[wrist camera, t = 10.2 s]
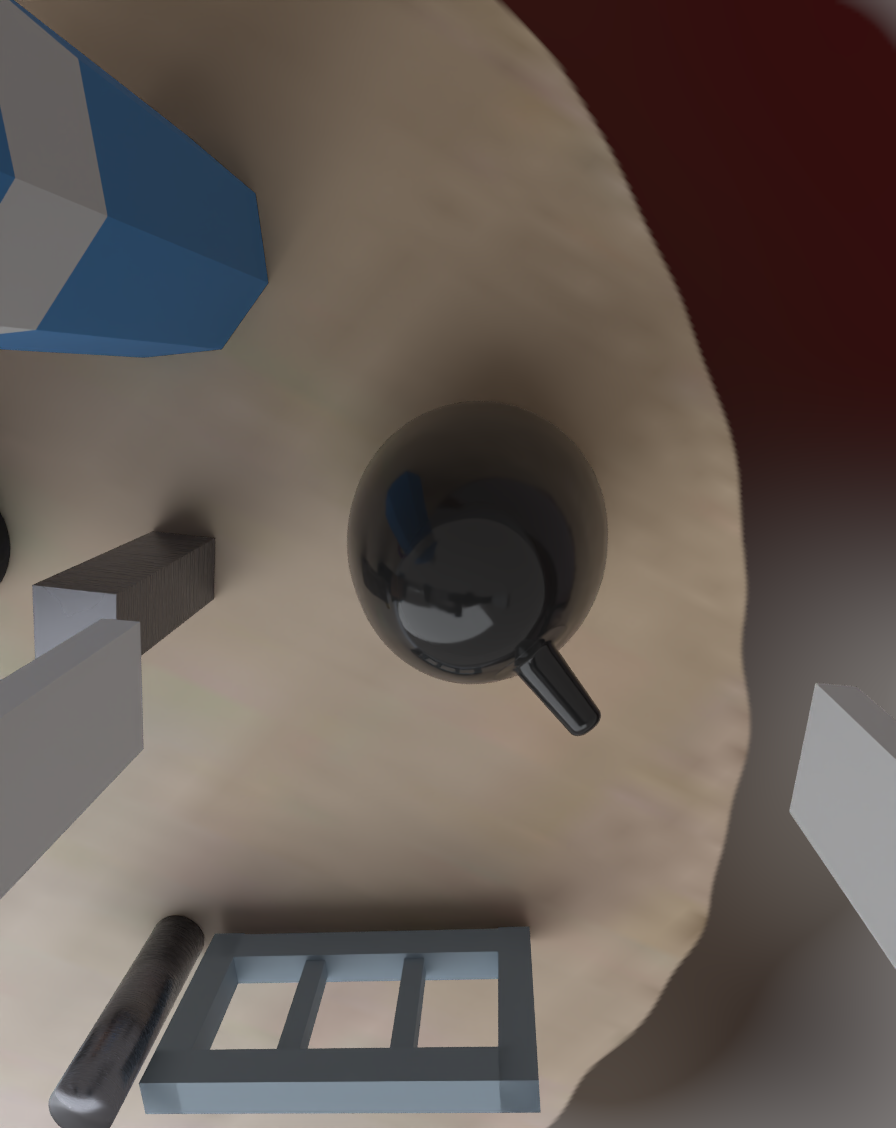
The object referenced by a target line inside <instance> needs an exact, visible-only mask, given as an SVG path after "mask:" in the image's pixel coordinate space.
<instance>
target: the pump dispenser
mask: <svg viewBox="0 0 896 1128" xmlns="http://www.w3.org/2000/svg"><path fill="white" fill-rule="evenodd" d="M607 548H608V522H607V513H606V507H605V502H604V498H603V494H602V491H601V488H600V485H599V482H598V480H597V478H596V475H595V473H594V471H593V469H592V467H591V466H590V464H589V462H588V461H587V459H586V458H585V456H584V455H583V453H582V452H581V451H580V449H579V448H578V447H577V446H576V445H575V443H574V442H573V441H572V440H571V439H570V438H569V437H568V436H567V435H566V434H565V433H564V432H562V431H561V430H560V429H559V428H558V427H556V426H555V425H553V424H552V423H551V422H549V421H548V420H546V419H544V418H543V417H541V416H539V415H537V414H535V413H533V412H531V411H528V410H526V409H523V408H520V407H517V406H514V405H510V404H506V403H500V402H493V401H466V402H459V403H454V404H449V405H445V406H442V407H439V408H436V409H433V410H431V411H428V412H426V413H424V414H422V415H420V416H418V417H416V418H415V419H413V420H411V421H410V422H408V423H407V424H405V425H404V426H403V427H401V428H400V429H399V430H397V431H396V432H395V433H394V434H393V435H392V436H391V437H390V438H389V439H388V440H387V441H386V442H385V443H384V444H383V445H382V446H381V447H380V448H379V450H378V451H377V452H376V453H375V455H374V456H373V458H372V459H371V461H370V462H369V464H368V465H367V467H366V469H365V471H364V473H363V475H362V477H361V479H360V481H359V484H358V486H357V489H356V492H355V495H354V498H353V502H352V506H351V510H350V515H349V521H348V530H347V554H348V563H349V569H350V574H351V578H352V582H353V585H354V588H355V591H356V594H357V597H358V600H359V602H360V604H361V607H362V609H363V611H364V613H365V615H366V617H367V619H368V621H369V623H370V624H371V626H372V628H373V629H374V631H375V632H376V633H377V635H378V636H379V637H380V639H381V640H382V641H383V642H384V644H385V645H386V646H387V647H388V648H389V649H390V650H391V651H392V652H393V653H394V654H395V655H397V656H398V657H399V658H400V659H401V660H403V661H404V662H405V663H407V664H408V665H410V666H411V667H413V668H415V669H417V670H418V671H420V672H422V673H424V674H427V675H429V676H431V677H434V678H437V679H440V680H443V681H448V682H452V683H459V684H485V683H492V682H497V681H501V680H505V679H508V678H511V677H514V676H517V675H518V676H519V677H520V678H521V679H522V680H523V681H524V682H525V684H526V685H527V686H528V687H529V688H530V689H531V690H532V691H533V692H534V693H535V695H536V696H537V697H538V698H539V699H540V700H541V701H542V702H543V703H544V704H545V706H546V707H547V708H548V709H549V710H550V711H551V712H552V713H553V714H554V716H555V717H556V718H557V719H558V720H559V721H560V722H561V723H562V724H563V726H564V727H565V728H566V729H567V730H568V731H569V732H570V733H571V734H572V735H574V736H582V735H584V734H586V733H588V732H589V731H591V730H592V729H593V728H594V727H595V726H596V725H597V724H598V723H599V721H600V718H601V713H600V710H599V709H598V707H597V706H596V705H595V703H594V702H593V700H592V699H591V697H590V696H589V694H588V693H587V692H586V690H585V689H584V687H583V686H582V684H581V683H580V681H579V680H578V679H577V677H576V676H575V674H574V673H573V671H572V670H571V668H570V667H569V666H568V664H567V663H566V661H565V660H564V658H563V657H562V655H561V654H560V652H559V651H558V650H560V649H561V648H562V647H563V646H564V645H565V644H566V643H567V642H568V641H569V640H570V638H571V637H572V636H573V635H574V634H575V632H576V631H577V630H578V629H579V627H580V626H581V624H582V623H583V621H584V620H585V618H586V616H587V615H588V613H589V611H590V609H591V607H592V605H593V603H594V601H595V599H596V596H597V594H598V591H599V588H600V585H601V582H602V579H603V575H604V570H605V565H606V558H607Z"/></svg>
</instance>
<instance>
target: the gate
mask: <svg viewBox="0 0 896 1128" xmlns="http://www.w3.org/2000/svg"><path fill="white" fill-rule="evenodd" d="M461 979H498V1047H424V1048H417V1045H418V1037H419V1029H420V1020H421V1012H422V1003H423V995H424V987H425V980H461ZM346 981H401V982H400V988H399V995H398V1001H397V1007H396V1013H395V1020H394V1026H393V1032H392V1038H391V1045H390V1048H328V1049H307V1048H308V1045H309V1041H310V1038H311V1034H312V1030H313V1027H314V1023H315V1020H316V1016H317V1013H318V1009H319V1006H320V1002H321V999H322V995H323V992H324V988H325V984H326V982H346ZM289 982H299V983H298V986H297V989H296V992H295V995H294V998H293V1001H292V1004H291V1007H290V1010H289V1013H288V1016H287V1020H286V1023H285V1026H284V1029H283V1032H282V1035H281V1038H280V1041H279V1044H278V1047H277V1049H231V1050H210V1048H211V1045H212V1043H213V1041H214V1038H215V1036H216V1034H217V1031H218V1029H219V1027H220V1024H221V1022H222V1020H223V1017H224V1015H225V1013H226V1010H227V1008H228V1006H229V1003H230V1001H231V999H232V996H233V994H234V992H235V989H236V987H237V985H238V983H289ZM139 1085H140V1090H141V1094H142V1099H143V1104H144V1108H145V1113H146V1114H245V1113H528V1112H540V1096H539V1079H538V1062H537V1045H536V1029H535V1012H534V995H533V978H532V961H531V944H530V928H529V927H498V929H459V930H415V931H371V932H327V933H283V934H244V933H224V934H215V935H214V936H213V938H212V940H211V942H210V944H209V946H208V948H207V950H206V952H205V954H204V956H203V958H202V960H201V962H200V964H199V966H198V968H197V970H196V972H195V974H194V976H193V978H192V980H191V982H190V984H189V986H188V988H187V990H186V992H185V994H184V996H183V998H182V1000H181V1002H180V1004H179V1006H178V1007H177V1009H176V1011H175V1013H174V1015H173V1017H172V1019H171V1021H170V1023H169V1025H168V1027H167V1029H166V1031H165V1033H164V1035H163V1037H162V1039H161V1041H160V1043H159V1045H158V1047H157V1049H156V1051H155V1053H154V1055H153V1057H152V1059H151V1061H150V1063H149V1065H148V1067H147V1069H146V1071H145V1073H144V1075H143V1076H142V1078H141V1080H140V1082H139Z"/></svg>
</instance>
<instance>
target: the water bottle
mask: <svg viewBox="0 0 896 1128" xmlns="http://www.w3.org/2000/svg"><path fill="white" fill-rule="evenodd" d="M267 284H268V277H267V270H266V263H265V256H264V249H263V242H262V235H261V228H260V221H259V215H258V208H257V201H256V194H255V193H254V192H253V191H252V190H251V189H249V188H248V187H247V186H246V185H245V184H244V183H242V182H241V181H240V180H239V179H238V178H236V177H235V176H234V175H233V174H232V173H231V172H229V171H228V170H227V169H226V168H225V167H224V166H222V165H221V164H220V163H219V162H218V161H216V160H215V159H214V158H213V157H212V156H211V155H209V154H208V153H207V152H206V151H205V150H204V149H202V148H201V147H200V146H199V145H198V144H196V143H195V142H194V141H193V140H192V139H191V138H189V137H188V136H187V135H186V134H184V133H183V132H182V131H181V130H179V129H178V128H177V127H176V126H174V125H173V124H172V123H170V122H169V121H168V120H167V119H165V118H164V117H163V116H161V115H160V114H159V113H158V112H156V111H155V110H154V109H152V108H151V107H150V106H149V105H147V104H146V103H145V102H144V101H142V100H141V99H140V98H138V97H137V96H136V95H135V94H133V93H132V92H131V91H129V90H128V89H127V88H126V87H124V86H123V85H122V84H120V83H119V82H118V81H117V80H115V79H114V78H113V77H111V76H110V75H109V74H108V73H106V72H105V71H104V70H103V69H101V68H100V67H99V66H97V65H96V64H95V63H94V62H92V61H91V60H90V59H88V58H87V57H86V56H85V55H83V54H82V53H81V52H79V51H78V50H77V49H76V48H74V47H73V46H72V45H71V44H69V43H68V42H67V41H65V40H64V39H63V38H62V37H60V36H59V35H58V34H56V33H55V32H54V31H53V30H51V29H50V28H49V27H47V26H46V25H45V24H44V23H42V22H41V21H40V20H38V19H37V18H36V17H35V16H33V15H32V14H31V13H30V12H28V11H27V10H26V9H24V8H23V7H22V6H21V5H19V4H18V3H17V2H15V1H14V0H0V349H4V350H21V351H39V352H56V353H74V354H91V355H108V356H126V357H143V358H145V357H154V356H163V355H173V354H182V353H191V352H201V351H210V350H219V349H222V348H223V347H224V345H225V344H226V342H227V341H228V339H229V338H230V337H231V335H232V334H233V332H234V331H235V330H236V328H237V327H238V325H239V324H240V322H241V321H242V320H243V318H244V317H245V315H246V314H247V312H248V311H249V310H250V308H251V307H252V305H253V304H254V303H255V301H256V300H257V298H258V297H259V295H260V294H261V293H262V291H263V290H264V288H265V287H266V286H267Z"/></svg>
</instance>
